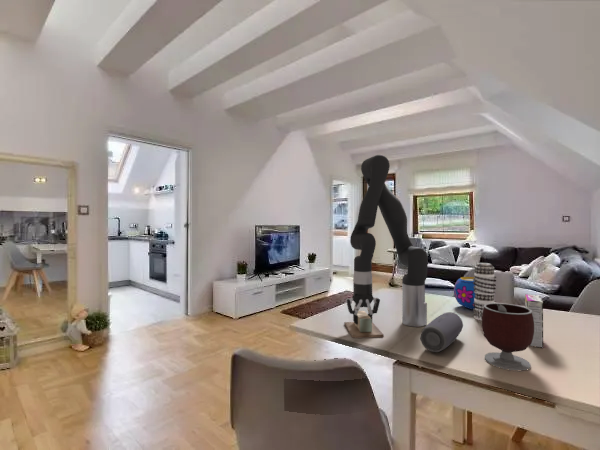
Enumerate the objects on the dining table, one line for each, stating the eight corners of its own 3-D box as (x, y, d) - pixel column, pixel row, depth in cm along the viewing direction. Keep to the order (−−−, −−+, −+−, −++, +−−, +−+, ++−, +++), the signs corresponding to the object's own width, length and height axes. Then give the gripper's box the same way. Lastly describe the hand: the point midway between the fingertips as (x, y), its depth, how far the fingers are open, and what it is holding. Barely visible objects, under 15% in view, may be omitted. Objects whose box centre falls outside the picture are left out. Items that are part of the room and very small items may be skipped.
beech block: (364, 310, 140) (371, 319, 128) (364, 322, 140) (372, 331, 128) (353, 311, 140) (360, 319, 128) (353, 322, 140) (360, 332, 128)
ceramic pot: (492, 315, 154) (492, 283, 154) (451, 309, 163) (451, 279, 163) (493, 306, 169) (493, 277, 168) (455, 302, 178) (455, 274, 178)
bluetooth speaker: (438, 333, 129) (438, 308, 129) (464, 339, 123) (464, 312, 123) (418, 352, 111) (418, 322, 111) (447, 359, 105) (447, 328, 105)
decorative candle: (499, 322, 143) (499, 265, 143) (476, 320, 145) (476, 264, 145) (491, 316, 152) (491, 262, 152) (470, 315, 154) (470, 262, 154)
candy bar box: (524, 336, 126) (524, 293, 126) (540, 338, 123) (541, 295, 123) (526, 345, 116) (526, 299, 116) (543, 348, 114) (544, 301, 113)
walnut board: (371, 323, 142) (371, 321, 141) (383, 337, 126) (383, 334, 126) (344, 324, 141) (344, 322, 141) (352, 337, 125) (352, 335, 125)
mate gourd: (489, 349, 113) (490, 292, 113) (538, 362, 103) (539, 299, 102) (473, 363, 102) (473, 299, 102) (526, 379, 92) (526, 308, 92)
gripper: (347, 283, 129) (347, 327, 129) (383, 283, 130) (383, 326, 130) (343, 280, 136) (343, 321, 136) (377, 279, 137) (377, 320, 137)
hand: (362, 323), depth 133 cm, fingers open, 5 cm apart
